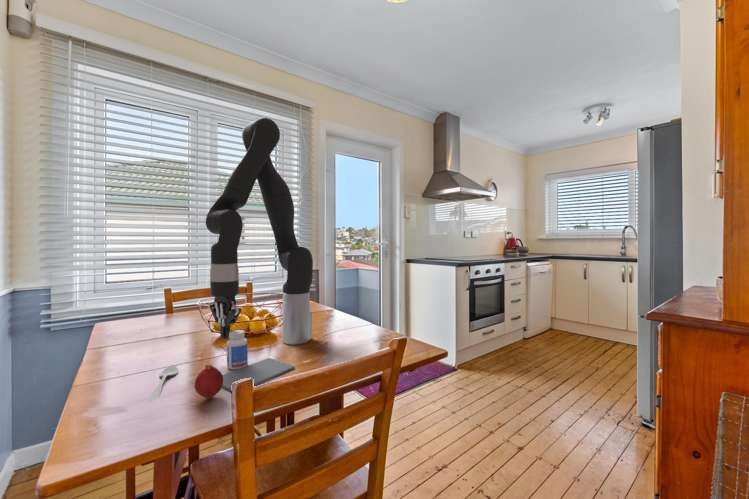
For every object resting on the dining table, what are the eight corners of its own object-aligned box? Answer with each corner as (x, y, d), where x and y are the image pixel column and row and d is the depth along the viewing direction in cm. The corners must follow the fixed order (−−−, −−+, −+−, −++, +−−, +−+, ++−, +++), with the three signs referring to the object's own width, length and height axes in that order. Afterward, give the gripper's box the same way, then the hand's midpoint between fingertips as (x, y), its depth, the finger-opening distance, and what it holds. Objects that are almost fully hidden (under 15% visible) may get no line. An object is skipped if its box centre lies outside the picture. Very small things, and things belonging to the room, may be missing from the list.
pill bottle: (251, 363, 94) (251, 330, 93) (238, 371, 89) (238, 335, 88) (236, 361, 96) (236, 328, 95) (222, 368, 90) (222, 333, 90)
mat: (268, 359, 97) (268, 357, 97) (294, 368, 91) (294, 366, 91) (209, 382, 82) (209, 379, 82) (236, 394, 76) (236, 391, 76)
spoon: (181, 369, 90) (180, 363, 90) (159, 406, 71) (159, 399, 71) (163, 371, 89) (163, 365, 89) (136, 410, 69) (136, 402, 69)
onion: (201, 392, 76) (201, 359, 76) (227, 392, 77) (227, 358, 76) (190, 405, 70) (189, 369, 70) (217, 404, 71) (217, 368, 71)
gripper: (250, 279, 94) (250, 338, 94) (224, 275, 101) (224, 331, 102) (225, 282, 88) (226, 345, 88) (199, 278, 95) (200, 337, 96)
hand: (225, 337), depth 95 cm, fingers closed
